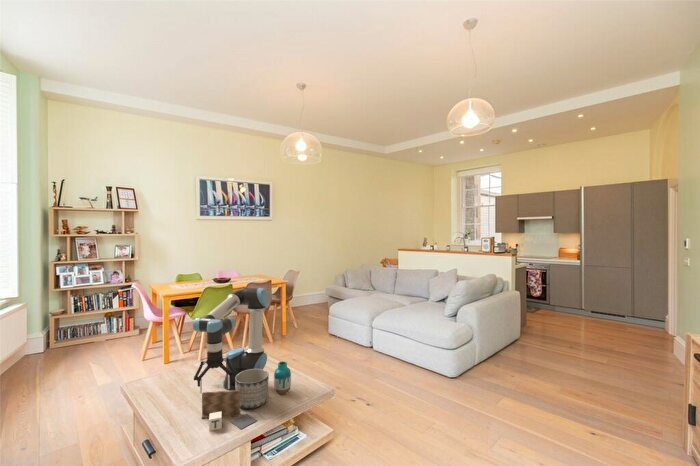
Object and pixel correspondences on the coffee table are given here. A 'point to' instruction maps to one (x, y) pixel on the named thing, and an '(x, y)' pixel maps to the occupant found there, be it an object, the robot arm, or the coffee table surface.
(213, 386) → the coffee table surface
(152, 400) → the coffee table surface
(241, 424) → the mat
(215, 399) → the walnut screen
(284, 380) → the vase
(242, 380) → the planter
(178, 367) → the coffee table surface
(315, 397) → the coffee table surface
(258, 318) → the robot arm
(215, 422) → the cream cube
